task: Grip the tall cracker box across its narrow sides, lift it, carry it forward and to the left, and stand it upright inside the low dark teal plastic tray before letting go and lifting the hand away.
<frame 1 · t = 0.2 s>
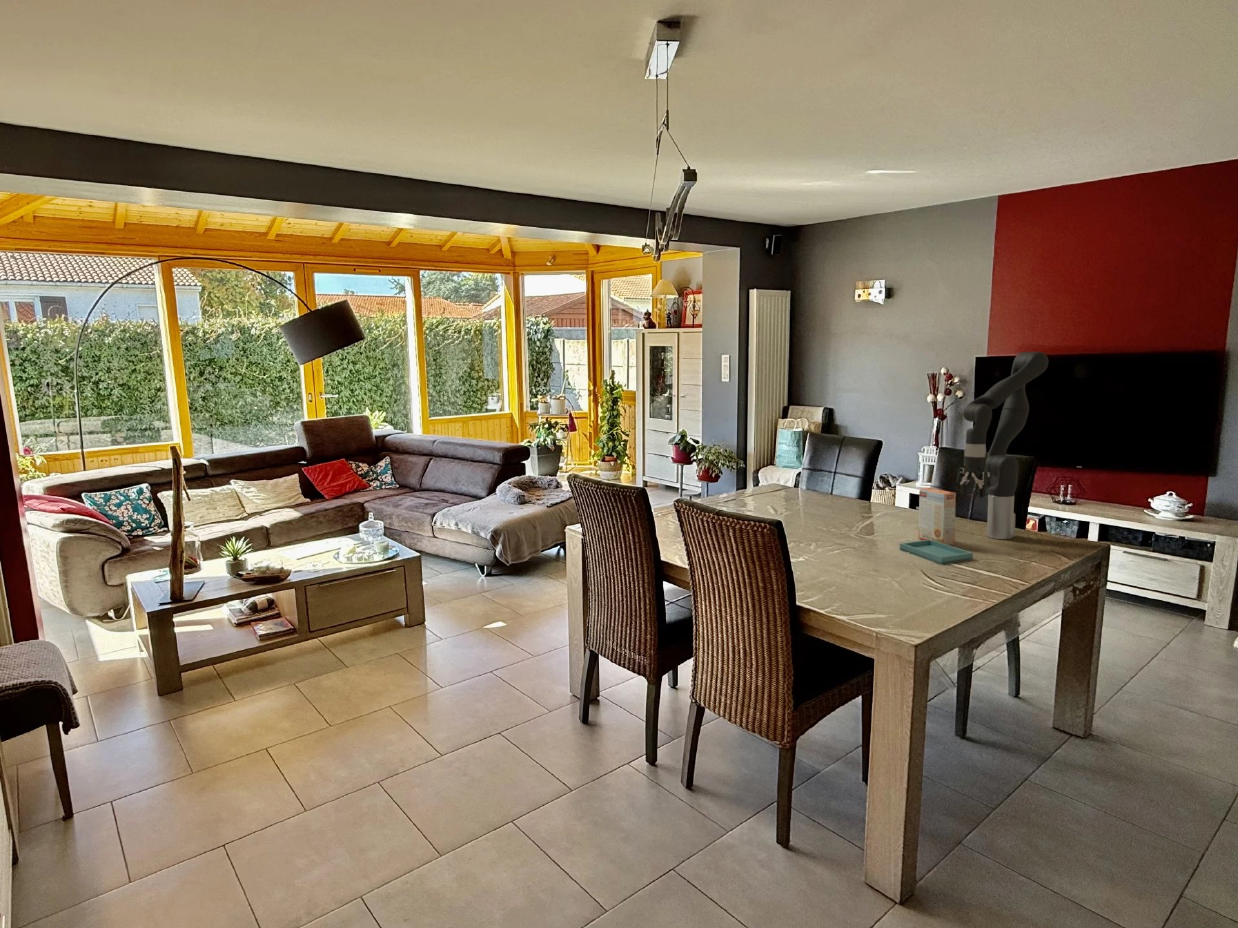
hand: (972, 496, 289), 18 cm above the table, tool pointing down, fingers open, 8 cm apart
teal tray: (935, 554, 275), on the table
cracker box: (936, 542, 292), on the table
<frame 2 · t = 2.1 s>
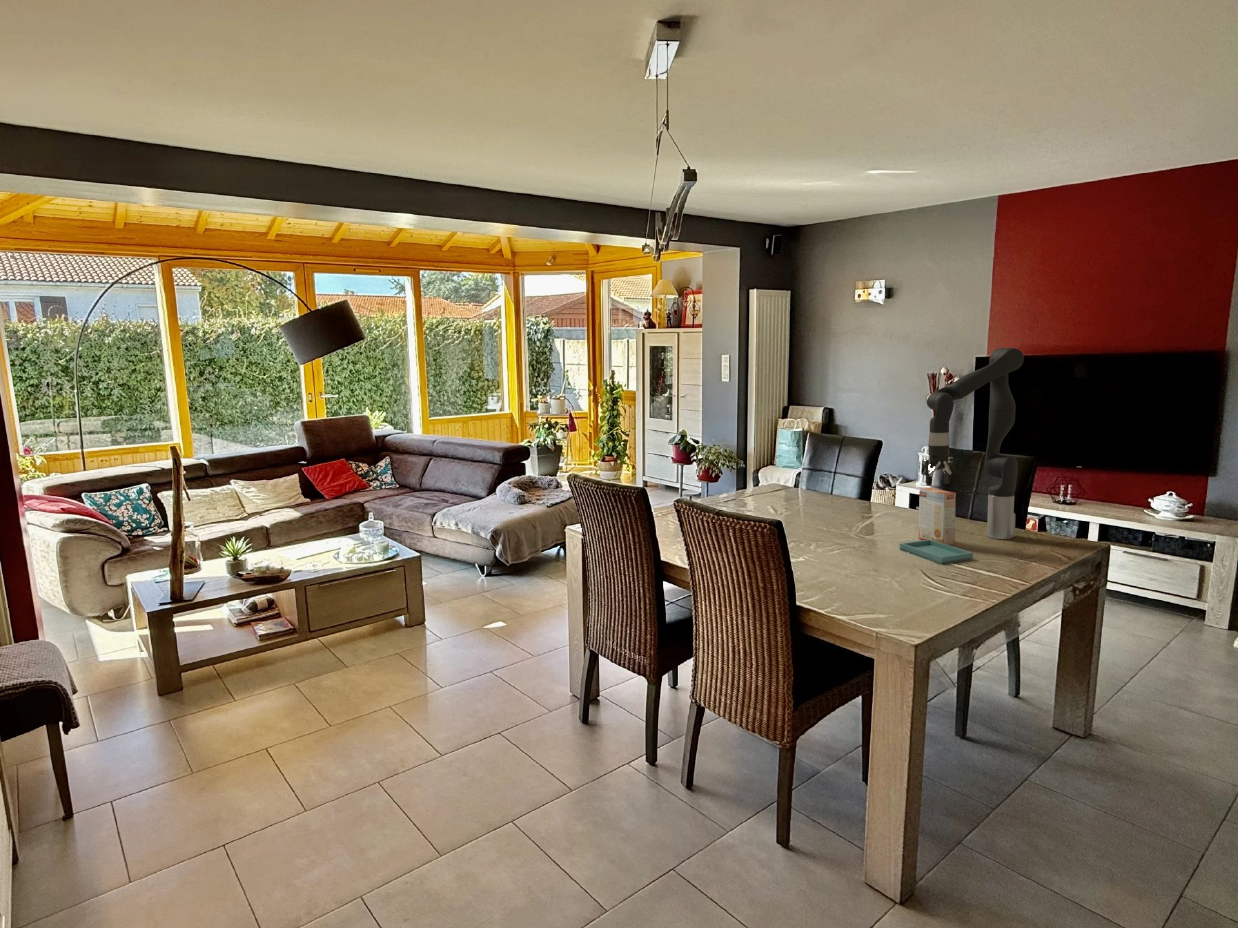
hand: (937, 484, 288), 23 cm above the table, tool pointing down, fingers open, 8 cm apart
nothing on the table moved.
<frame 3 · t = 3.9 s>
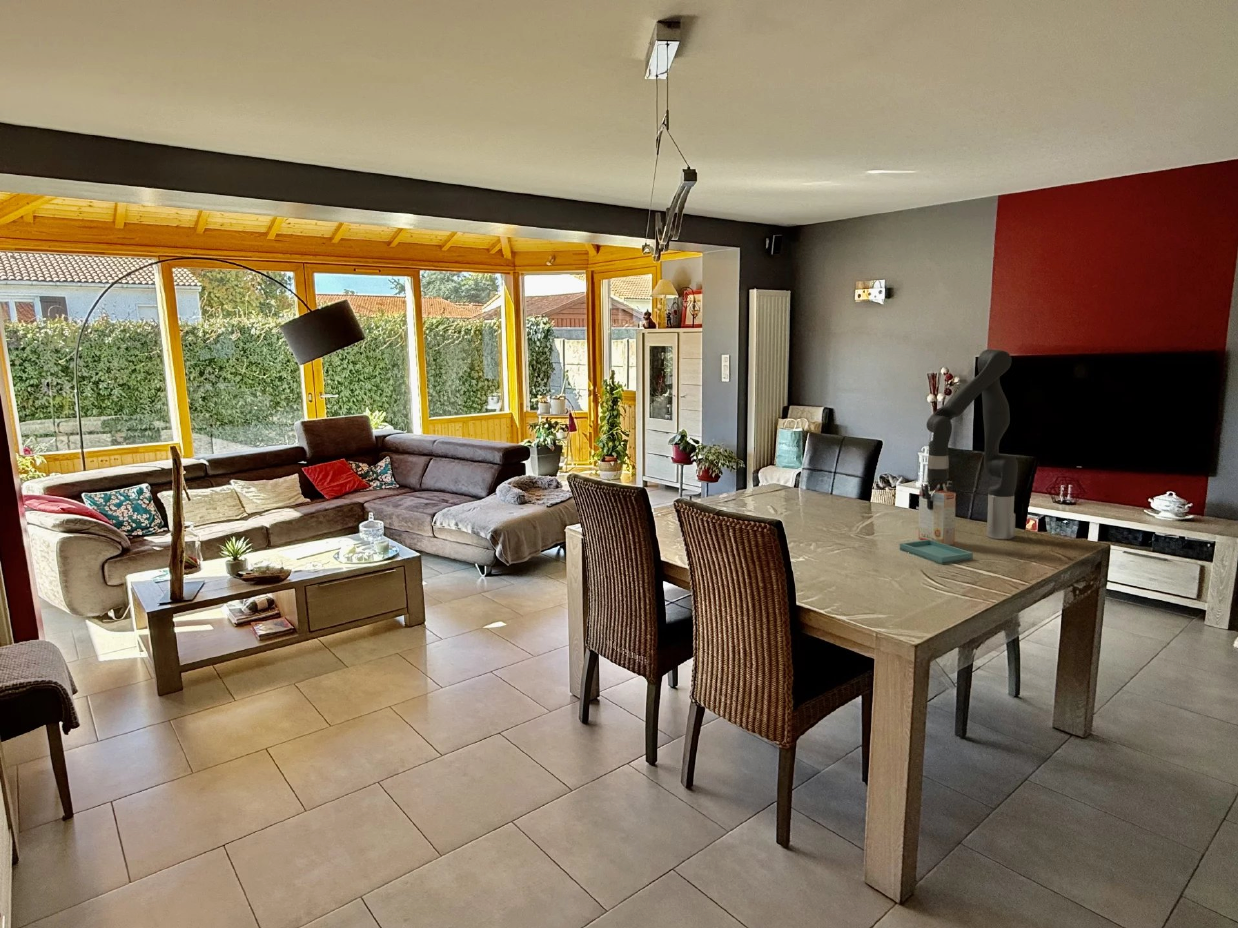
hand: (937, 508, 290), 14 cm above the table, tool pointing down, fingers closed on cracker box, 6 cm apart
cracker box: (936, 542, 292), on the table, touching gripper
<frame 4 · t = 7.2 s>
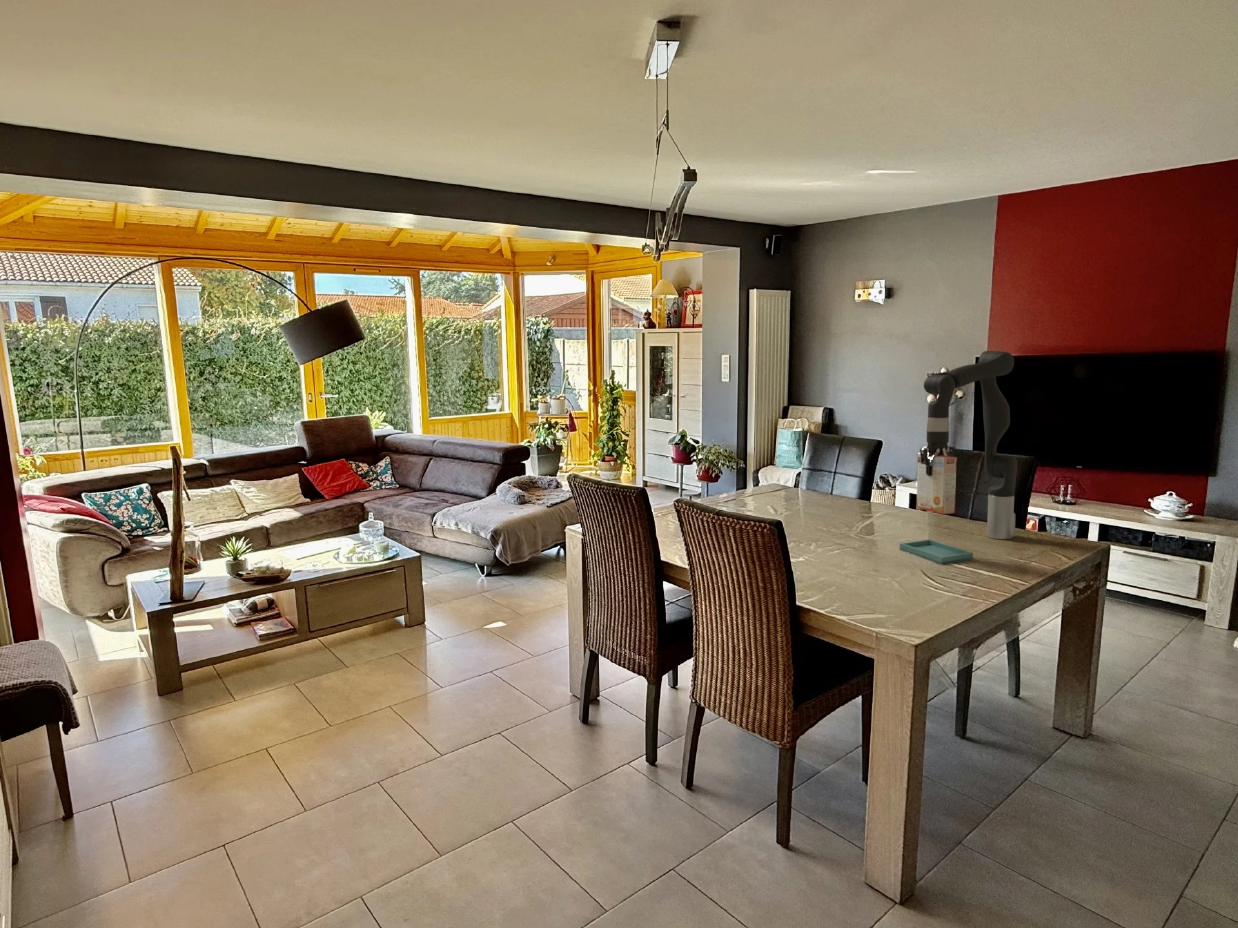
hand: (936, 474, 271), 30 cm above the table, tool pointing down, fingers closed on cracker box, 6 cm apart
cracker box: (935, 511, 273), point 16 cm above the table, touching gripper
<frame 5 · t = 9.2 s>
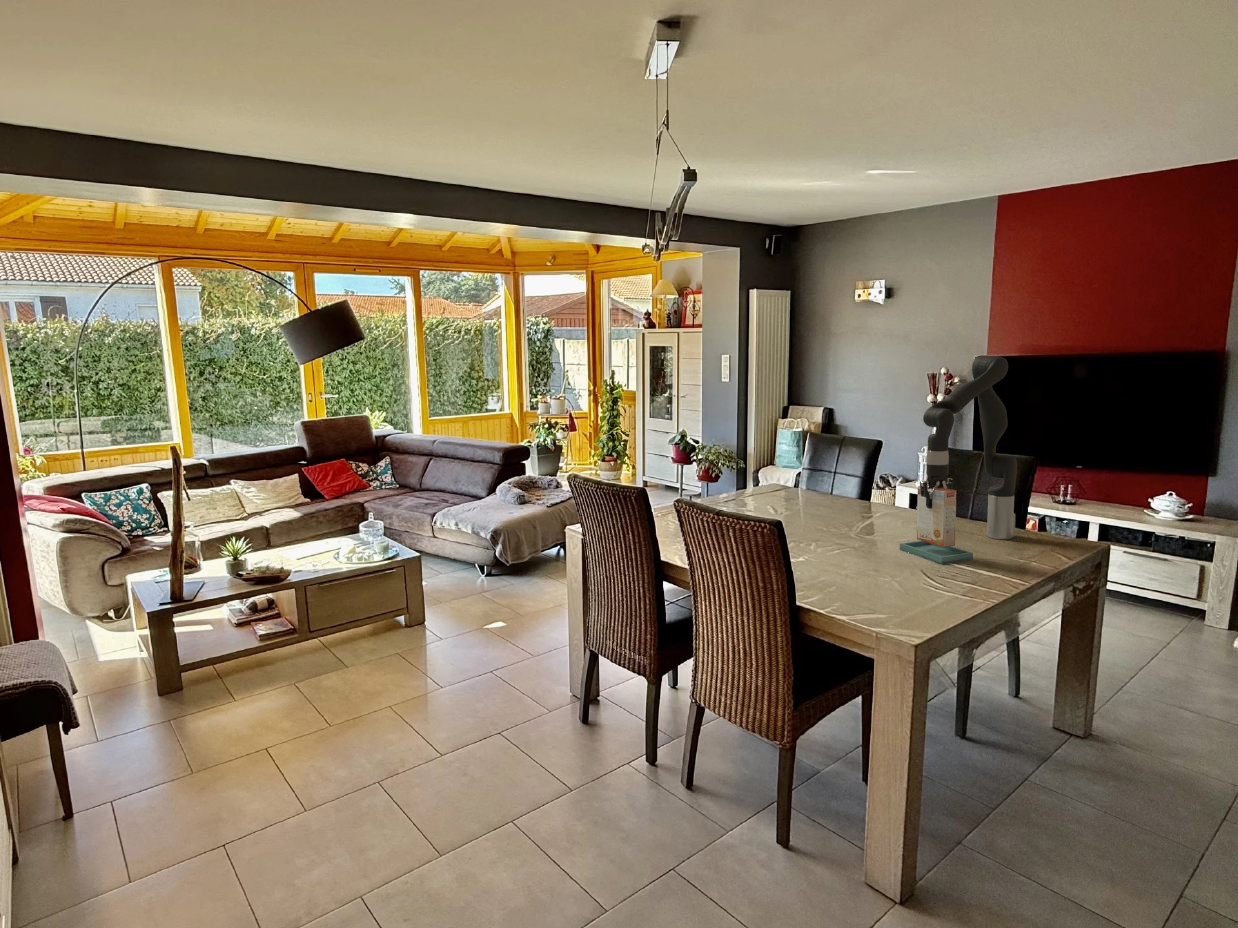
hand: (936, 507, 272), 18 cm above the table, tool pointing down, fingers closed on cracker box, 6 cm apart
cracker box: (935, 543, 274), point 4 cm above the table, touching gripper
when the fingers open (15 cm above the table, at t = 10.7 s): cracker box drops 1 cm, resting on teal tray.
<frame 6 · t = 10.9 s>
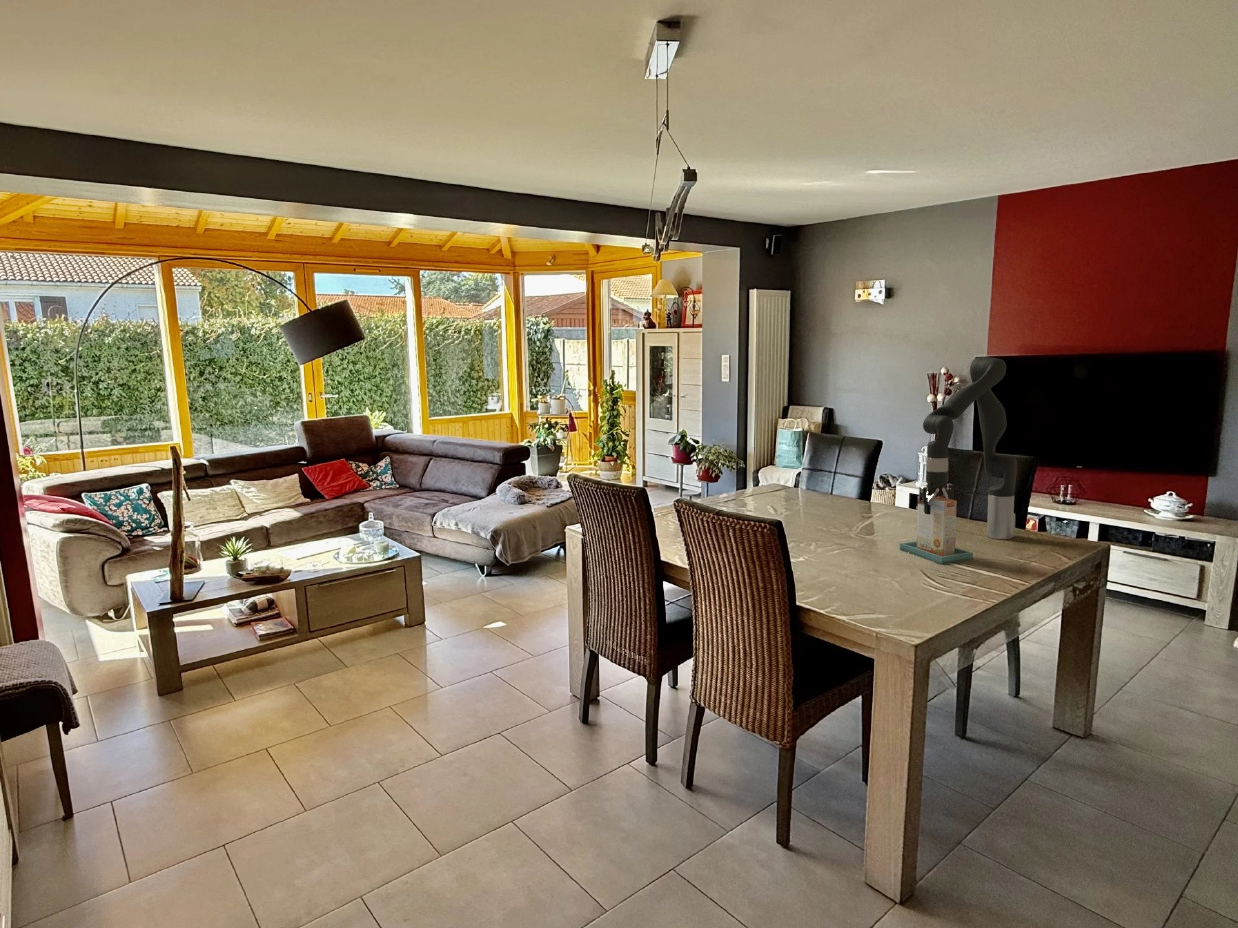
hand: (936, 512, 272), 16 cm above the table, tool pointing down, fingers open, 7 cm apart
cracker box: (935, 552, 275), point 1 cm above the table, touching teal tray
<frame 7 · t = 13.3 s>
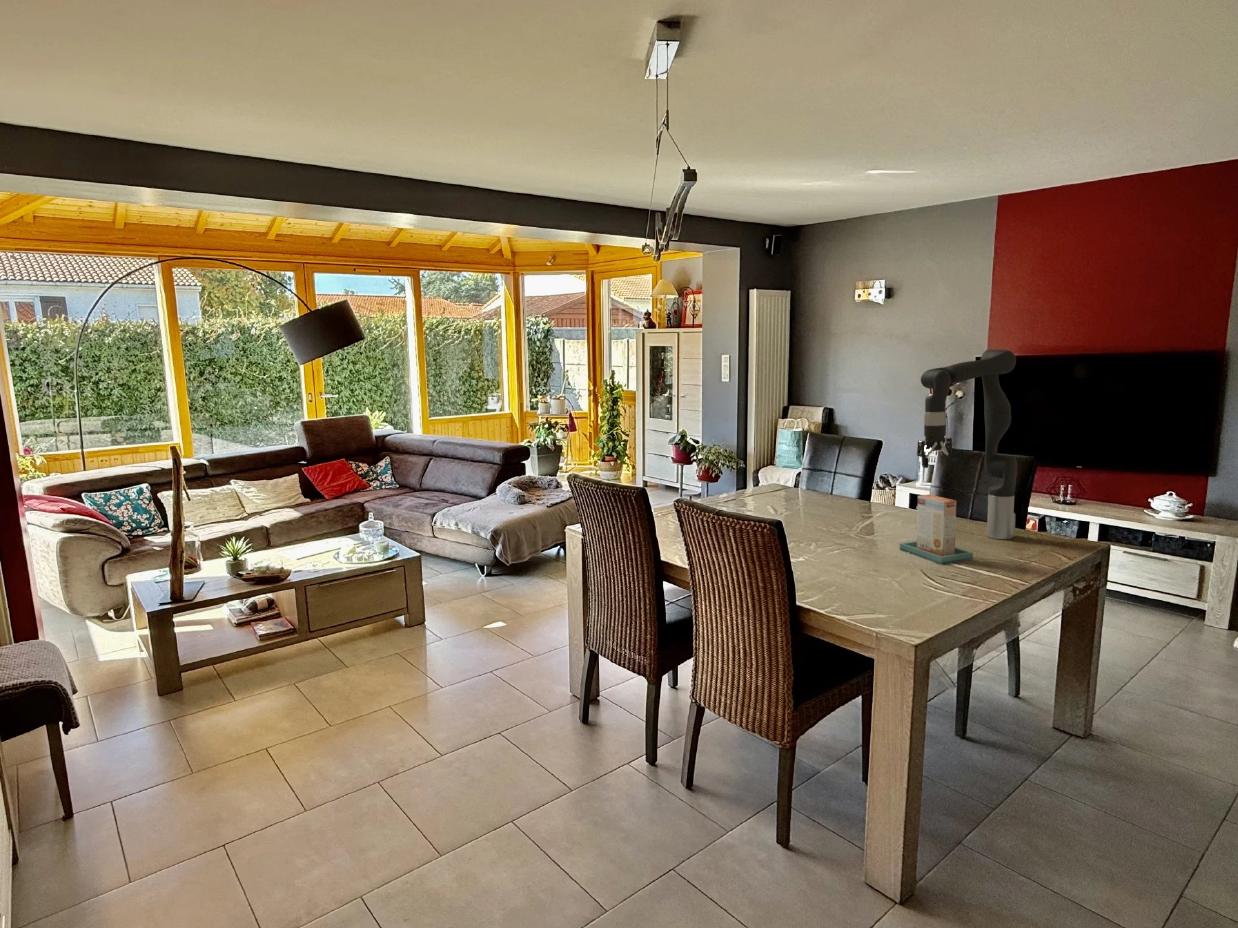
hand: (934, 466, 276), 32 cm above the table, tool pointing down, fingers open, 8 cm apart
nothing on the table moved.
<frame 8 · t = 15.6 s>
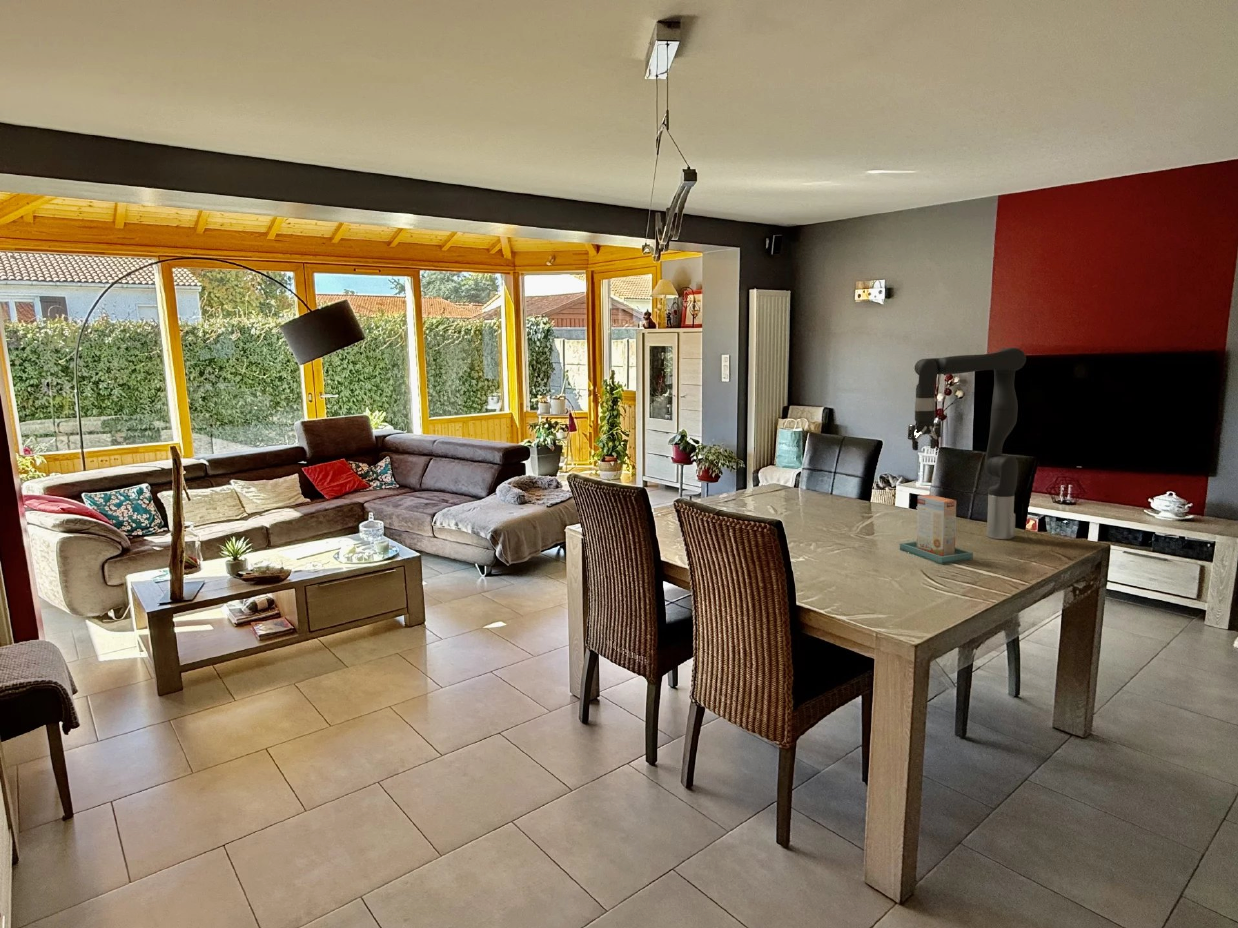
hand: (924, 449, 295), 36 cm above the table, tool pointing down, fingers open, 8 cm apart
nothing on the table moved.
at the end: cracker box inside the target area on the teal tray (0.2 cm from its centre), point 0.6 cm above the teal tray's base; cracker box tilted 0°; the gripper is holding nothing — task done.
